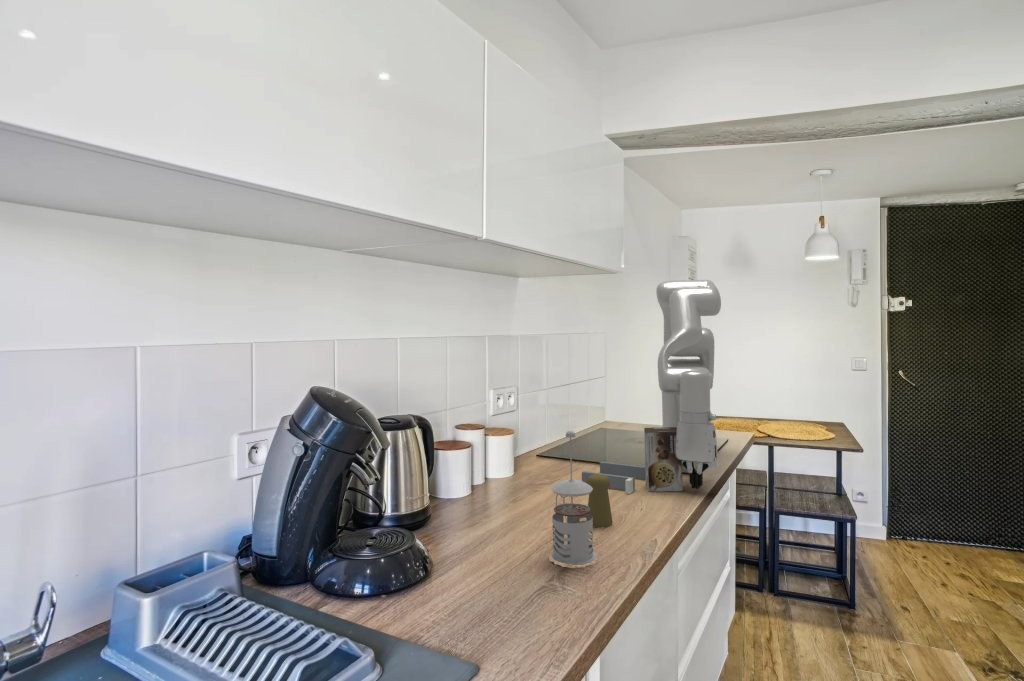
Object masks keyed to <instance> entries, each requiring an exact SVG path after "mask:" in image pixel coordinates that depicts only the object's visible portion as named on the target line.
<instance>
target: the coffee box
mask: <svg viewBox="0 0 1024 681" xmlns="http://www.w3.org/2000/svg"><path fill="white" fill-rule="evenodd" d="M643 429H644V463H645V464H644V467H645V473H646V480H645V487H646V489H647V491H648V492H649V491H651V492H683V488H684V487H683V465H682V460H679V459H677V458H676V456H675V440H676V431H677V427H663V426H661V427H659V426H658V427H644V428H643Z"/></svg>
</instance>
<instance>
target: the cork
mask: <svg viewBox="0 0 1024 681" xmlns="http://www.w3.org/2000/svg"><path fill="white" fill-rule="evenodd" d="M587 484H588V485H590V486H591V487H592V488H593V490H592V492H591V493H590V494H588V499H587V500H588V501H587V506H589V508H590V509H591V510H590V512H589V514H591V515H592V518H593V526H595V527H594V528H597V527H604V528H608V527H607V526H609V527H611V526H612V525H613V524H614V522H613V516H612V510H611V501H610V496H609V489H610V488H609V487H610V479H609V477H608V476H606V475H603V474H593V475H590V476H589V477H588V479H587ZM585 519H586V520H585V521H589V520H590V519H589V518H585ZM612 523H613V524H612ZM610 525H611V526H610Z"/></svg>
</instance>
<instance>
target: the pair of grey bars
mask: <svg viewBox="0 0 1024 681" xmlns="http://www.w3.org/2000/svg"><path fill="white" fill-rule="evenodd" d="M593 474H603V475H606V476H608V477H609V479H610V487H609V489H610V490H611V489H612V490H619V491H625V494H626V495H627V494H628V495H631V494H632V493H633V492H635V491H636V481H635V480H642V481H646V473H645V466H642V465H632V464H626V463H625V464H624V463H623V464H622V463H615V462H606V461H599V472H595V471H594V472H593V471H585V470H583V471H582V472H581V481H582V482H585V483H587V479H588V477H589V476H590V475H593Z"/></svg>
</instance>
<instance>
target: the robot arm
mask: <svg viewBox="0 0 1024 681" xmlns="http://www.w3.org/2000/svg"><path fill="white" fill-rule="evenodd" d="M655 290H656V298H657V303H658V305H659V307H660V309H661V312H662V314H663V345H662V347H661V348H660V351H659V353H658V357H657V376H658V377H657V379H658V387H659V389H660V391H661V401H662V403H661V405H662V406H661V408H662V409H661V411H662V413H661V414H662V427H677V431H676V440H675V456H676V458H677V459H679V460H682V467H684V468H685V469H686V470H687V472H688V475H689V484H690V485H691V489H692V490H693V489H696V490H699V489H700V488H701V486H703V484H704V481H703V480H704V477H703V476H704V475H703V474H704V472H705V471H706V470H707V469H712V468H716V467H718V461H717V459H718V443H717V442H718V441H717V435H716V434H717V432H716V427H715V424H714V422H712V421H716V420H717V415H716V414H713V413H712V411H711V389H713V387H714V385H713V384H714V378H715V377H714V376H715V336H714V333H713V332H712V330H711V329H710V328H708V327H702V317H714V316H717V315H718V314H720V312H721V309H722V308H721V307H722V299H721V294H720V291H719V289H718V288H717V286H716V285H715V283H714V281H712V280H709V279H693V280H692V279H691V280H688V279H687V280H685V279H684V280H682V279H681V280H668V281H662V282H660V283H659V284H658V285H657V287H656V289H655ZM670 357H674V358H672V359H671V358H670ZM675 357H676V358H675ZM677 357H678V358H677ZM681 357H682V358H681ZM685 357H686V358H685ZM687 357H689V358H687ZM693 357H695V358H693ZM697 357H698V358H697ZM669 358H670V359H669ZM695 463H697V466H696V465H695ZM696 467H697V468H696Z"/></svg>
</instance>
